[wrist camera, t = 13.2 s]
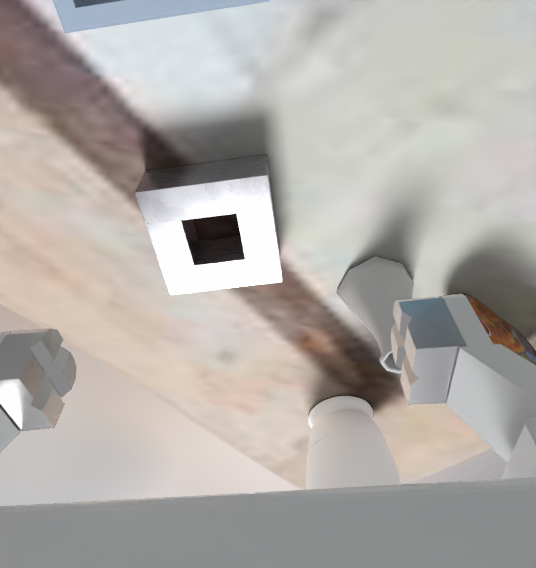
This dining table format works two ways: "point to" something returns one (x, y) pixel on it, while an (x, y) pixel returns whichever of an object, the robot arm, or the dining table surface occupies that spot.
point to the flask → (377, 300)
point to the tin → (502, 332)
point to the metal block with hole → (207, 203)
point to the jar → (347, 447)
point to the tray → (131, 11)
